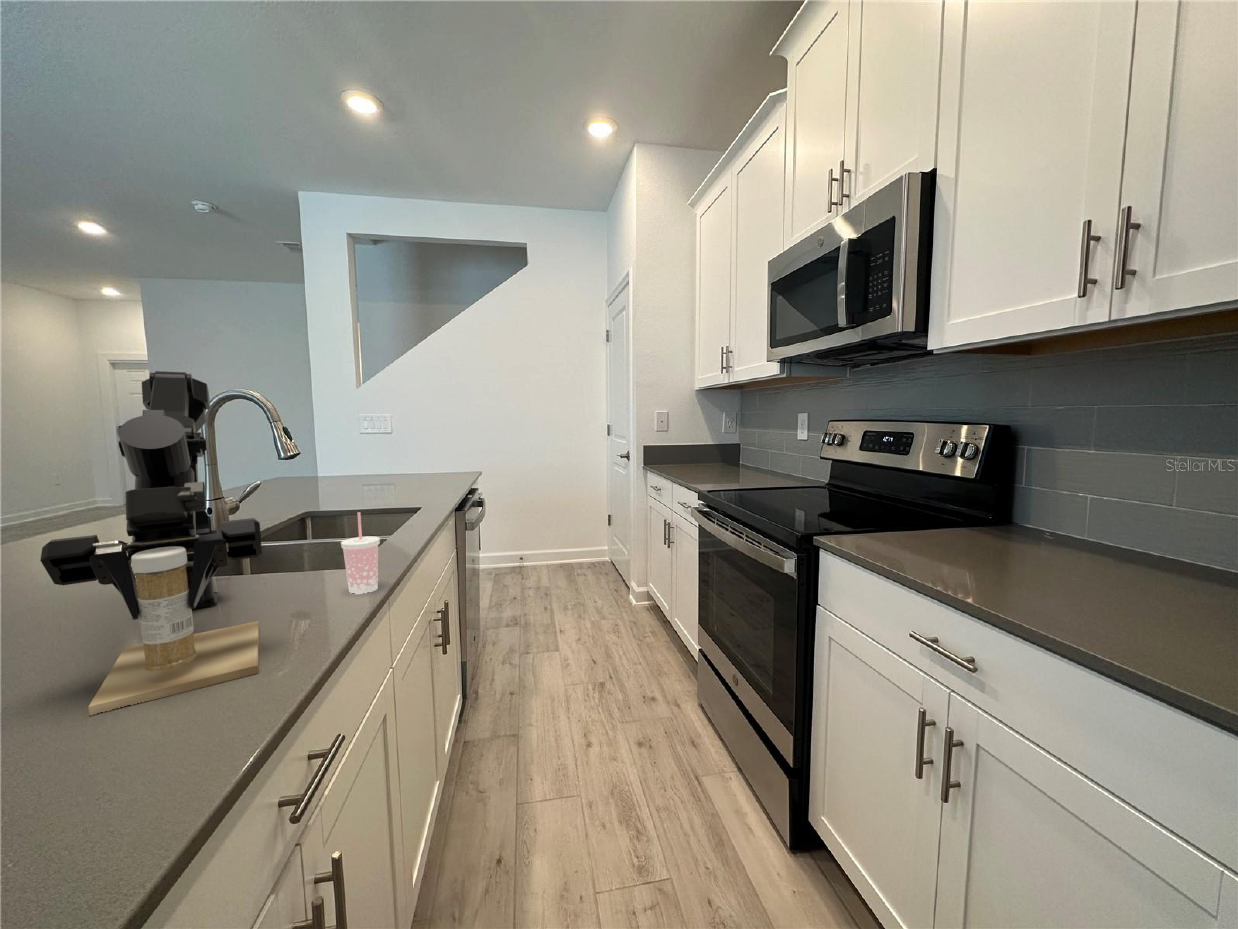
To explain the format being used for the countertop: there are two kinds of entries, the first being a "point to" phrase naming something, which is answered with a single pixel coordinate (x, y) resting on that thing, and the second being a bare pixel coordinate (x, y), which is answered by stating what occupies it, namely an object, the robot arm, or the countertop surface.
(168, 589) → the sprinkles bottle
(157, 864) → the countertop surface
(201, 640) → the oak board
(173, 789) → the countertop surface
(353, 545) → the beverage cup
